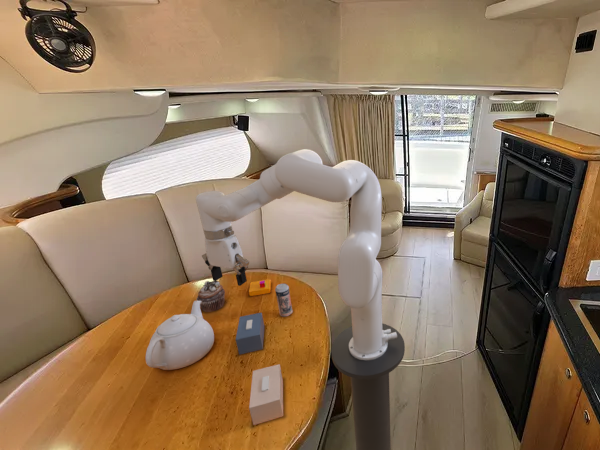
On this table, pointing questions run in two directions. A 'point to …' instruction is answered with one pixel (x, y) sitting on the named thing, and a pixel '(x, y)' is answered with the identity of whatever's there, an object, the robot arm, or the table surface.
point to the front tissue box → (266, 394)
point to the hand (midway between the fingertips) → (230, 281)
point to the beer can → (283, 299)
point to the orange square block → (260, 287)
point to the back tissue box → (250, 333)
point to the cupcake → (211, 296)
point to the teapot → (180, 341)
